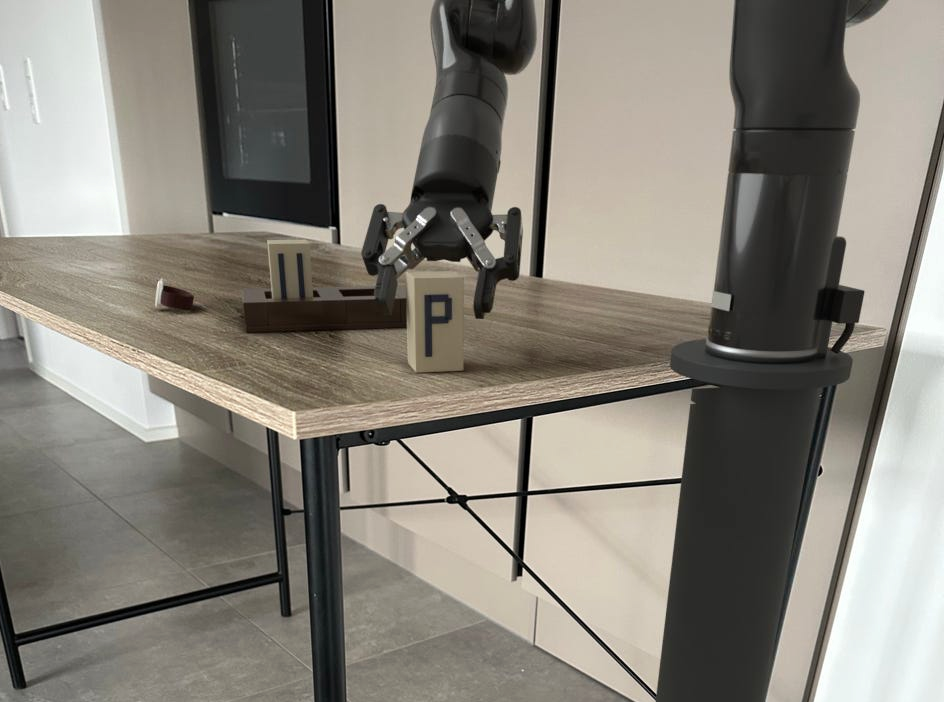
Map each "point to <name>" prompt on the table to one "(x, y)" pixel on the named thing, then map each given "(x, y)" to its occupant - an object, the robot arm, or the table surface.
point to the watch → (173, 297)
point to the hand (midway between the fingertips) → (431, 311)
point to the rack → (321, 310)
